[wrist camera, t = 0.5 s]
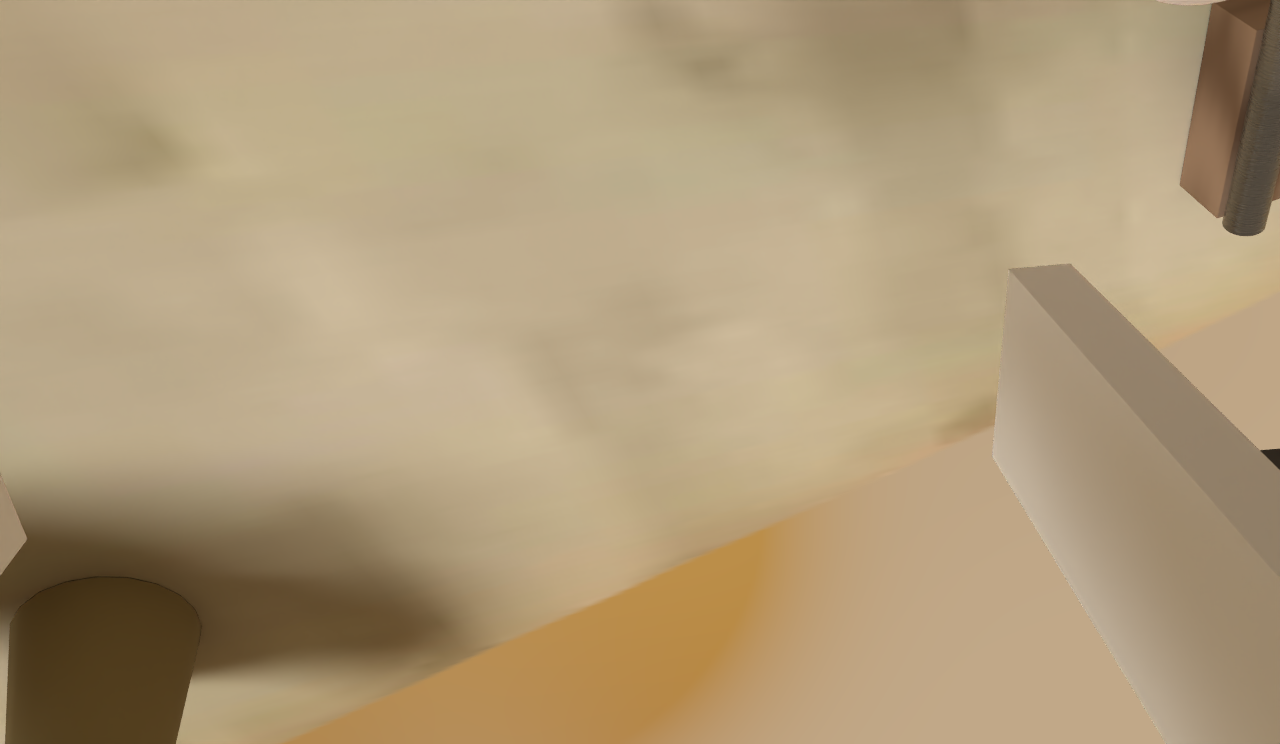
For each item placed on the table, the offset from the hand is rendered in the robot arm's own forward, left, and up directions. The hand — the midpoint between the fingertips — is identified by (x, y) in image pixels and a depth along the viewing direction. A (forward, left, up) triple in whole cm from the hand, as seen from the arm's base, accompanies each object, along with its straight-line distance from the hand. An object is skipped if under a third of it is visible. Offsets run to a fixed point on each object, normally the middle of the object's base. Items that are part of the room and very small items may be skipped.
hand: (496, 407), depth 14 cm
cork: (+19, -17, -16) cm, 31 cm away
